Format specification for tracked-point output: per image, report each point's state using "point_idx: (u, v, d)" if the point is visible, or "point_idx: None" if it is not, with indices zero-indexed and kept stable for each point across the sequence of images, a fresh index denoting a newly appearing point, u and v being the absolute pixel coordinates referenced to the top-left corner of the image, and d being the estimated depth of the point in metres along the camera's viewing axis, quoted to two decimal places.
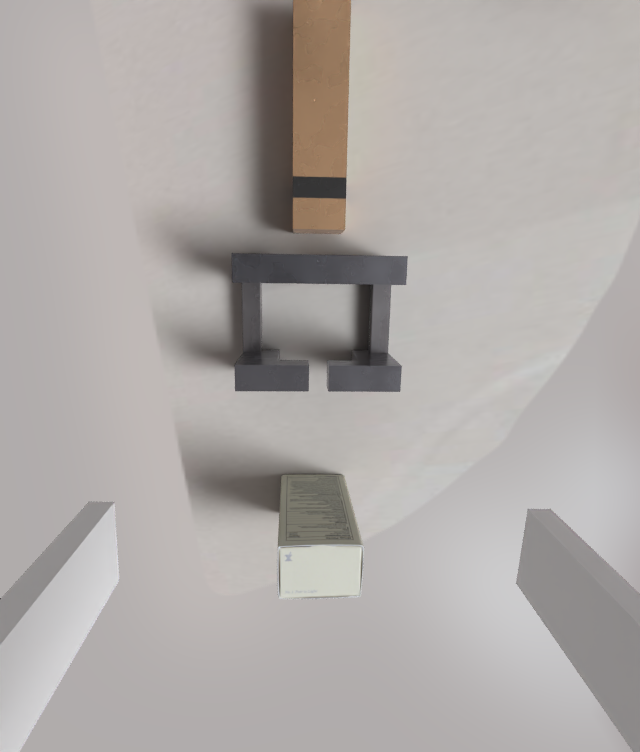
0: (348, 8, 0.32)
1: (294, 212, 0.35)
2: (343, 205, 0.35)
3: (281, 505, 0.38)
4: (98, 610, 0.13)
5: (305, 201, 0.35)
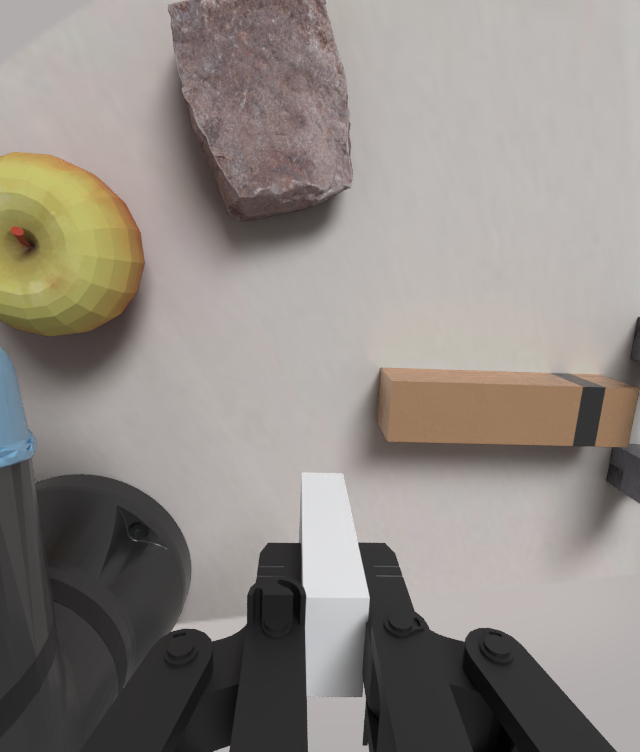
0: (412, 384, 0.29)
1: (610, 445, 0.30)
2: (612, 390, 0.29)
3: None
4: None
5: (601, 432, 0.30)
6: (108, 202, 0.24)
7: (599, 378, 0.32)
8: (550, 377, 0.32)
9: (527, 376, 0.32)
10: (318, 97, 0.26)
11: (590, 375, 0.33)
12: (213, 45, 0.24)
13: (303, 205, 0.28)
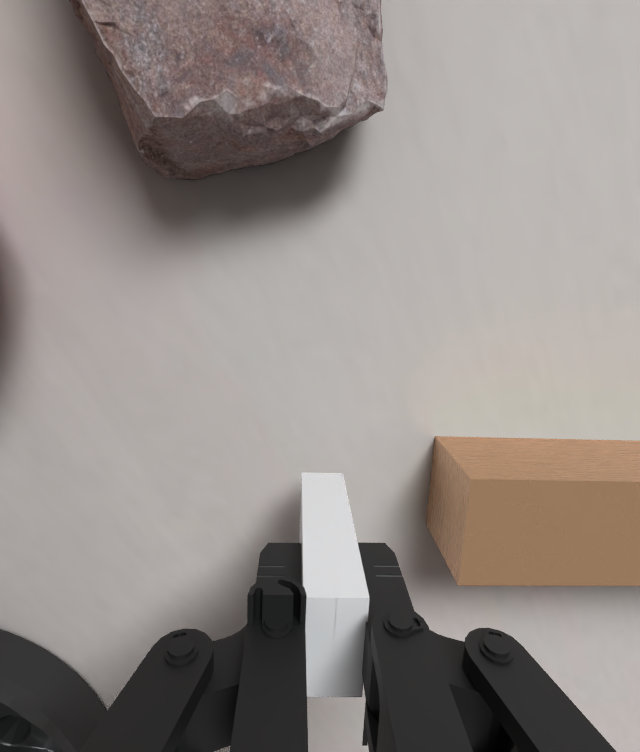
0: (508, 484, 0.15)
1: None
2: None
3: None
4: None
5: None
6: None
7: None
8: None
9: None
10: None
11: None
12: None
13: (290, 146, 0.14)
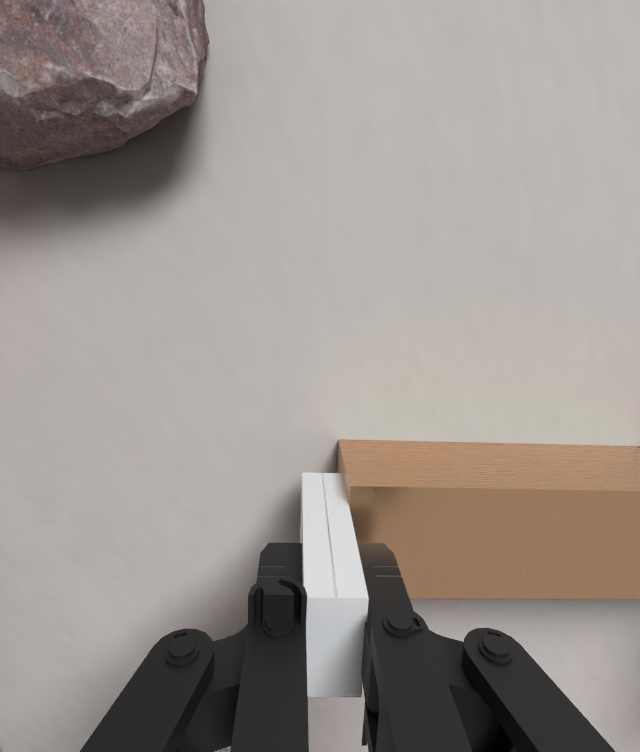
0: (390, 492, 0.14)
1: None
2: None
3: None
4: None
5: None
6: None
7: None
8: None
9: (604, 459, 0.17)
10: None
11: None
12: None
13: (107, 133, 0.14)
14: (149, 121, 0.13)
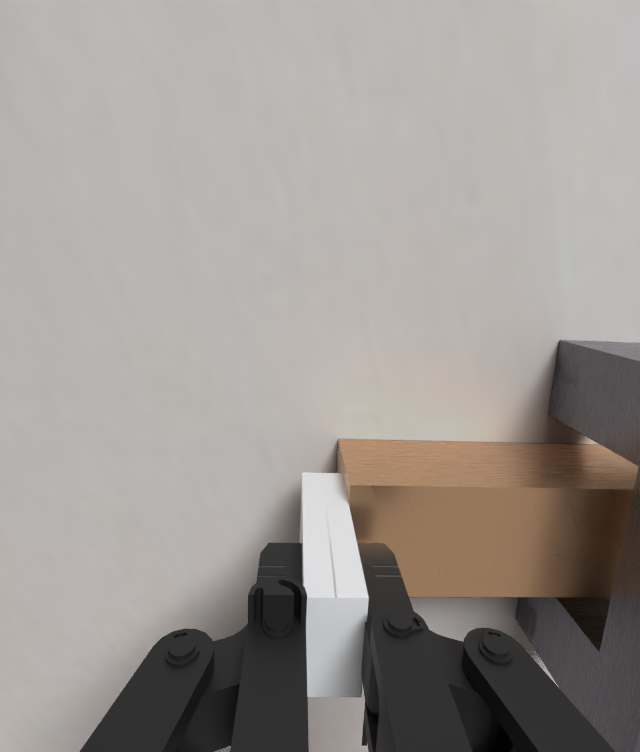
0: (390, 490, 0.14)
1: None
2: None
3: None
4: None
5: None
6: None
7: None
8: None
9: (603, 458, 0.17)
10: None
11: None
12: None
13: None
14: None
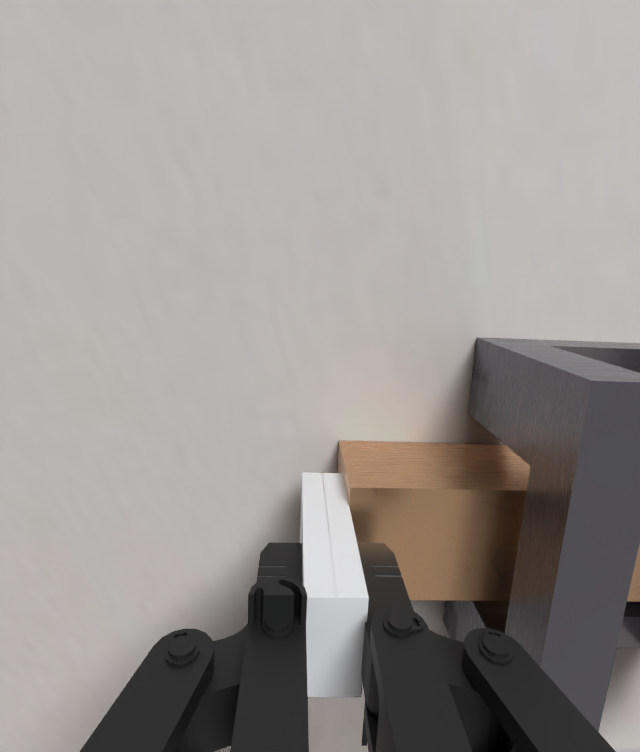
0: (390, 493, 0.14)
1: None
2: None
3: None
4: None
5: None
6: None
7: None
8: None
9: None
10: None
11: None
12: None
13: None
14: None
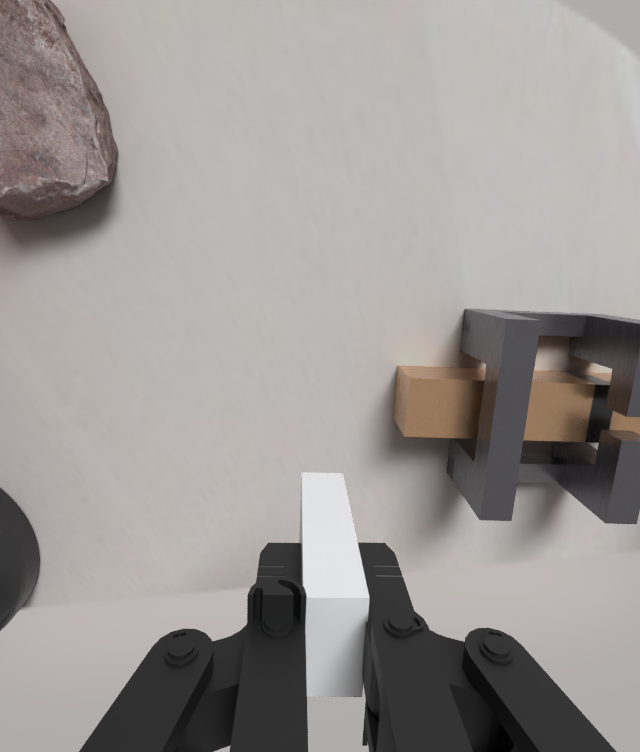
0: (428, 381, 0.30)
1: None
2: None
3: None
4: None
5: (613, 429, 0.31)
6: None
7: None
8: (563, 375, 0.32)
9: (540, 374, 0.33)
10: (57, 95, 0.26)
11: (602, 373, 0.34)
12: None
13: (70, 201, 0.29)
14: (88, 195, 0.28)
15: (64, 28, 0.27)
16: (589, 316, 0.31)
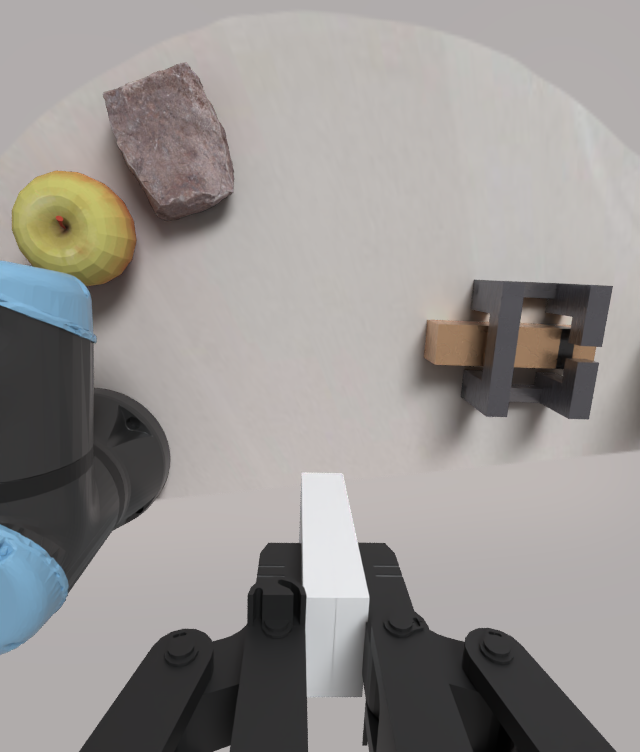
0: (451, 326, 0.44)
1: None
2: None
3: None
4: None
5: None
6: (113, 201, 0.39)
7: None
8: (541, 325, 0.47)
9: (526, 324, 0.47)
10: (203, 137, 0.41)
11: (568, 325, 0.49)
12: (133, 114, 0.39)
13: (205, 206, 0.43)
14: (219, 201, 0.43)
15: None
16: (558, 284, 0.46)
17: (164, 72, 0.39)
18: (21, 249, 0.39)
